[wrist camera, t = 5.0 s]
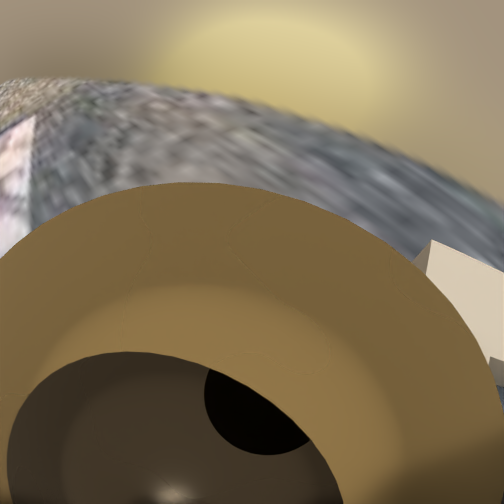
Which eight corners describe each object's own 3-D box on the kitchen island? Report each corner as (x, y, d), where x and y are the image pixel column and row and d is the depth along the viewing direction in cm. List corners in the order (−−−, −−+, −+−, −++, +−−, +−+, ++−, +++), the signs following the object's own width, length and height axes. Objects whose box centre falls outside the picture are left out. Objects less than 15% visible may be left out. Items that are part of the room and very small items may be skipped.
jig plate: (495, 540, 7) (531, 554, 4) (299, 524, 10) (308, 561, 7) (557, 341, 13) (595, 325, 9) (400, 274, 16) (431, 239, 12)
